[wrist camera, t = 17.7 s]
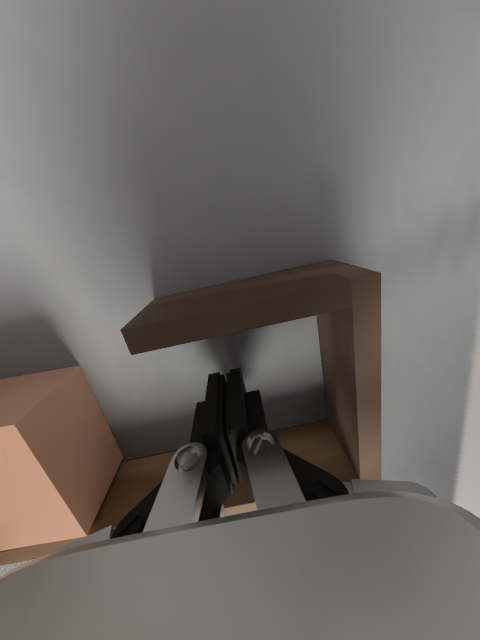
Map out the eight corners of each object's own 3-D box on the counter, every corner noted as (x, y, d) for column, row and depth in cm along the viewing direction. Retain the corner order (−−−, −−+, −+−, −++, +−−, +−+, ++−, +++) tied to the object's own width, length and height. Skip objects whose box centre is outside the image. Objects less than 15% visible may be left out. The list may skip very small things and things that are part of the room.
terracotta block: (124, 454, 16) (87, 535, 11) (20, 472, 16) (-55, 560, 12) (81, 363, 13) (14, 424, 9) (-41, 385, 13) (-165, 456, 9)
